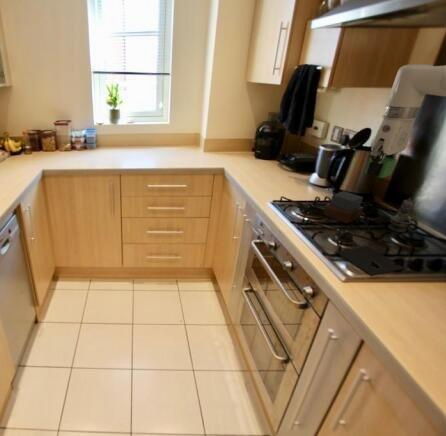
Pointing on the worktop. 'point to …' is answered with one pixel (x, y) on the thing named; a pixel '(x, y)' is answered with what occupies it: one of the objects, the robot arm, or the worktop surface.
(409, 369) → the worktop surface
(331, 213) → the base block
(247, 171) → the worktop surface
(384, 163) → the green cube
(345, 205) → the middle block
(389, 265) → the mat
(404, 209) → the salt shaker
